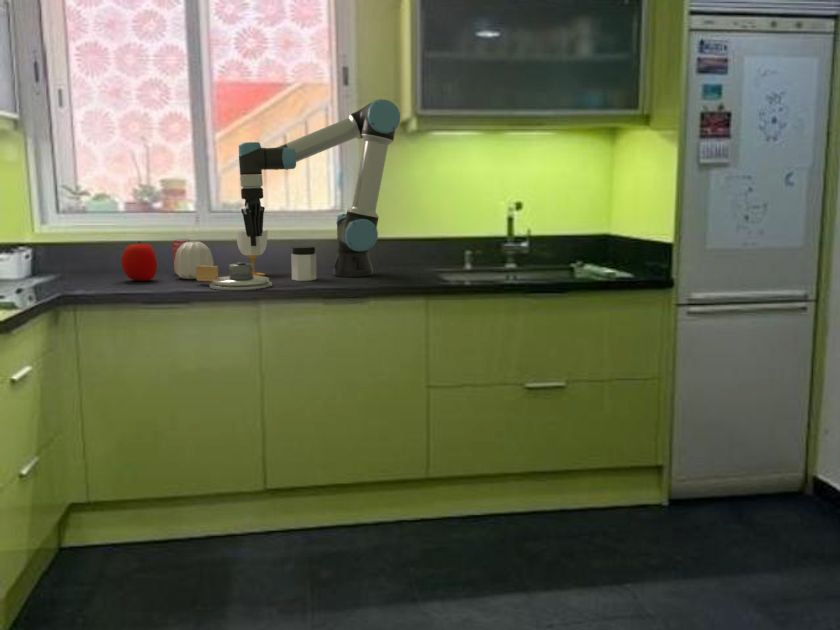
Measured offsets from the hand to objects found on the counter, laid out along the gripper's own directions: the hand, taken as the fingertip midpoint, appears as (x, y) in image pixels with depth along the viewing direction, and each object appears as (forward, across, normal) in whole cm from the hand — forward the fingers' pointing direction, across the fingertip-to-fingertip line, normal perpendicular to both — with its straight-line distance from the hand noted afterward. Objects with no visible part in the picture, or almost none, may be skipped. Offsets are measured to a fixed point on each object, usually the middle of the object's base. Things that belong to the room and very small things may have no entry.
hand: (255, 254), depth 290 cm
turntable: (+8, +10, -4) cm, 14 cm away
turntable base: (+10, +10, -1) cm, 14 cm away
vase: (+10, -4, -28) cm, 30 cm away
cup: (+10, -19, -12) cm, 24 cm away
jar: (+11, -13, +12) cm, 21 cm away
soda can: (+9, -14, -39) cm, 42 cm away
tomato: (+9, +9, -42) cm, 44 cm away
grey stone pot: (+7, +10, -1) cm, 12 cm away
